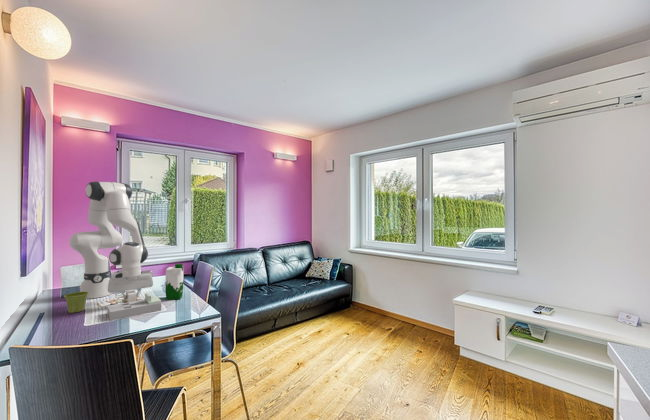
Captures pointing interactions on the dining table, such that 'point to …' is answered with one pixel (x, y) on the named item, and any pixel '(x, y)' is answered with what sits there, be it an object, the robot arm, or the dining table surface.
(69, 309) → the plant pot
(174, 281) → the milk carton
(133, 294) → the plug
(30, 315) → the dining table surface
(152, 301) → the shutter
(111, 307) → the socket
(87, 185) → the robot arm
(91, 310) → the dining table surface
